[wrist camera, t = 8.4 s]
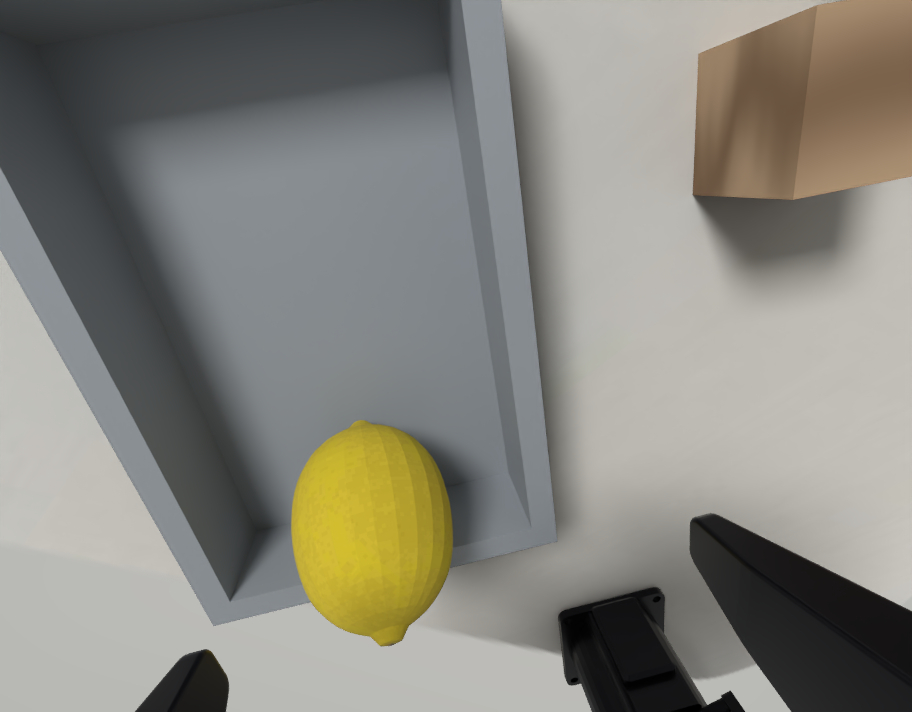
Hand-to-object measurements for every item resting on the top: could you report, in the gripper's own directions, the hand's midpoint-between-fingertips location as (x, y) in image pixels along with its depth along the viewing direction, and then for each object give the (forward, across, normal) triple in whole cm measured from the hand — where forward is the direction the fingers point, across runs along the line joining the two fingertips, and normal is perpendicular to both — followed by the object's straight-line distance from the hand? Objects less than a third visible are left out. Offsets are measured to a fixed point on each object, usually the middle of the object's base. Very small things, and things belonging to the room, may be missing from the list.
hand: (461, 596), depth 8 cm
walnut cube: (+12, -15, -7) cm, 21 cm away
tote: (+12, +3, -3) cm, 13 cm away
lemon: (+11, +3, +2) cm, 11 cm away
